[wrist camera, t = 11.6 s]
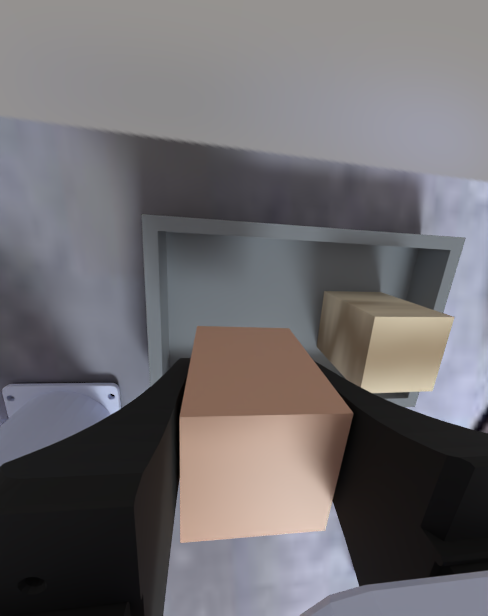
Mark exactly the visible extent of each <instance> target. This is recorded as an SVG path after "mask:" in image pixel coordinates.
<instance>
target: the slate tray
mask: <svg viewBox="0 0 488 616" xmlns="http://www.w3.org/2000/svg"><path fill="white" fill-rule="evenodd" d="M141 216H142V236H143V256H144V276H145V296H146V315H147V335H148V355H149V375H150V387H151V386H152V385H153V384H154V383H155V382H156V381H157V380H159V379H160V378H161V377H162V376H163V375H164V374H165V373H166V372H167V371H168V370H169V369H170V368H171V367H172V366H173V364H174V363H175V362H176V361H177V360H178V359H180V358H191V355H192V350H193V344H194V339H195V334H196V329H197V326H219V327H260V328H289V329H290V330H291V332H292V333H293V334H294V336H295V337H296V338H297V339H298V341H299V342H300V343H301V345H302V346H303V347H304V349H305V350H306V351H307V353H308V354H309V355H310V357H311V358H312V359H313V361H315V362H317V363H319V364H321V365H322V366H324V367H326V368H327V369H329V370H331V371H333V372H334V373H336V374H338V375H339V376H341V377H343V378H345V377H344V376H343V375H342V374H341V373H340V372H339V371H338V370H337V369H336V367H335V366H334V365H333V364H332V363H331V362H330V361H329V360H328V359H327V358H326V357H325V355H324V354H323V353H322V352H321V351H320V350H319V349H318V348H317V341H318V333H319V326H320V319H321V311H322V304H323V297H324V291H349V292H382V293H385V294H388V295H391V296H394V297H397V298H400V299H403V300H406V301H408V302H411V303H414V304H417V305H420V306H423V307H426V308H429V309H432V310H435V311H438V312H441V313H443V312H444V308H445V305H446V302H447V298H448V295H449V292H450V288H451V285H452V282H453V278H454V275H455V272H456V268H457V265H458V262H459V258H460V255H461V252H462V249H463V245H464V242H465V239H466V238H462V237H448V236H434V235H421V234H407V233H393V232H380V231H366V230H352V229H339V228H325V227H312V226H298V225H284V224H271V223H257V222H243V221H230V220H216V219H202V218H189V217H175V216H162V215H148V214H141ZM345 379H346V378H345ZM346 380H347V379H346ZM373 394H375V395H377V396H379V397H381V398H383V399H386V400H388V401H390V402H393V403H395V404H397V405H400V406H402V407H415V405H416V401H417V398H418V395H419V392H393V393H373Z"/></svg>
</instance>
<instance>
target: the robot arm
mask: <svg viewBox="0 0 488 616" xmlns="http://www.w3.org/2000/svg"><path fill="white" fill-rule="evenodd" d="M190 360H191V358H180V359H178V360H177V361H176V362H175V363H174V364H173V366H172V367H171V368H170V369H169V370H168V371H167V372H166V373H165V374H164V375H163V376H162V377H161V378H160V379H159V380H157V381H156V382H155V383H154V384H153V385H152V386H151V387H150V388H148V389H147V390H146V391H145V392H144V393H142V394H141V395H140V396H139V397H137V398H136V399H134V400H133V401H132V402H130V403H129V404H127V405H126V406H124V407H123V408H121V402H120V391H119V386H118V385H117V384H115V383H46V384H9V385H7V386H5V387H4V388H3V389H2V394H3V398H4V402H5V406H6V410H7V415H8V420H7V421H6V422H5V423H3V424H2V425H1V426H0V616H163V611H164V602H165V593H166V584H167V576H168V567H169V558H170V549H171V541H172V533H173V524H174V516H175V508H176V500H177V492H178V485H179V479H180V412H181V407H182V402H183V396H184V391H185V386H186V381H187V376H188V370H189V365H190ZM314 362H315V361H314ZM315 363H316V365H317V366H318V367H319V368H320V370H321V371H322V372H323V374H324V375H325V376H326V378H327V379H328V380H329V382H330V383H331V384H332V386H333V387H334V388H335V390H336V391H337V392H338V393H339V395H340V396H341V397H342V399H343V400H344V401H345V403H346V404H347V405H348V407H349V408H350V409H351V411H352V412H353V413H354V414H353V418H352V422H351V426H350V430H349V434H348V438H347V443H346V447H345V451H344V455H343V459H342V463H341V467H340V472H339V476H338V480H337V484H336V488H335V492H334V496H333V500H332V501H333V503H334V506H335V509H336V512H337V516H338V519H339V522H340V525H341V528H342V531H343V534H344V537H345V540H346V543H347V547H348V550H349V553H350V556H351V560H352V563H353V566H354V570H355V573H356V576H357V580H358V583H359V587H356V588H353V589H349V590H346V591H342V592H339V593H335V594H332V595H329V596H327V597H326V598H324V599H323V600H322V601H320V602H319V603H317V604H316V605H314V606H313V607H311V608H310V609H308V610H307V611H305V612H304V613H302V614H301V615H300V616H488V434H487V433H483V432H479V431H475V430H471V429H468V428H464V427H461V426H458V425H454V424H451V423H447V422H444V421H441V420H438V419H435V418H432V417H429V416H426V415H423V414H421V413H418V412H415V411H412V410H410V409H407V408H405V407H402V406H400V405H397V404H395V403H393V402H390V401H388V400H386V399H383V398H381V397H379V396H377V395H375V394H373V393H371V392H369V391H367V390H365V389H363V388H361V387H359V386H357V385H355V384H354V383H352V382H350V381H348V380H346V379H345V378H343V377H341V376H339V375H338V374H336V373H334V372H333V371H331V370H329V369H327V368H326V367H324V366H322V365H321V364H319V363H317V362H315ZM110 394H113V395H114V396H111V395H110ZM12 396H13V397H14V398H13V397H12Z"/></svg>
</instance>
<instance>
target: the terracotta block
mask: <svg viewBox="0 0 488 616" xmlns="http://www.w3.org/2000/svg"><path fill="white" fill-rule="evenodd" d="M353 414H354V413H353V412H352V411H351V409H350V408H349V407H348V405H347V404H346V403H345V401H344V400H343V399H342V397H341V396H340V395H339V393H338V392H337V391H336V390H335V388H334V387H333V386H332V384H331V383H330V382H329V380H328V379H327V378H326V376H325V375H324V374H323V372H322V371H321V370H320V368H319V367H318V366H317V365H316V363H315V362H314V361H313V359H312V358H311V357H310V355H309V354H308V353H307V351H306V350H305V349H304V347H303V346H302V345H301V343H300V342H299V341H298V339H297V338H296V337H295V336H294V334H293V333H292V332H291V330H290V329H289V328H260V327H219V326H197V329H196V334H195V339H194V344H193V350H192V355H191V360H190V365H189V370H188V376H187V381H186V386H185V391H184V396H183V402H182V407H181V412H180V543H185V542H196V541H208V540H220V539H232V538H243V537H255V536H267V535H278V534H290V533H302V532H313V531H325V529H326V525H327V521H328V517H329V513H330V509H331V505H332V500H333V496H334V492H335V488H336V484H337V480H338V476H339V472H340V467H341V463H342V459H343V455H344V451H345V447H346V443H347V438H348V434H349V430H350V426H351V422H352V418H353Z"/></svg>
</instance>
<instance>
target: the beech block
mask: <svg viewBox="0 0 488 616" xmlns="http://www.w3.org/2000/svg"><path fill="white" fill-rule="evenodd" d="M453 320H454V317H453V316H450V315H447V314H444V313H441V312H438V311H435V310H432V309H429V308H426V307H423V306H420V305H417V304H414V303H411V302H408V301H406V300H403V299H400V298H397V297H394V296H391V295H388V294H385V293H382V292H349V291H324V297H323V304H322V311H321V319H320V326H319V333H318V341H317V348H318V349H319V350H320V351H321V352H322V353H323V354H324V355H325V357H326V358H327V359H328V360H329V361H330V362H331V363H332V364H333V365H334V366H335V367H336V369H337V370H338V371H339V372H340V373H341V374H342V375H343V376H344V377H345V378H346V379H347V380H348V381H350V382H352V383H354V384H355V385H357V386H359V387H361V388H363V389H365V390H367V391H369V392H371V393H393V392H420V391H433V387H434V384H435V381H436V377H437V374H438V371H439V367H440V364H441V360H442V357H443V354H444V350H445V347H446V344H447V340H448V337H449V333H450V330H451V327H452V323H453Z"/></svg>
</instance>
